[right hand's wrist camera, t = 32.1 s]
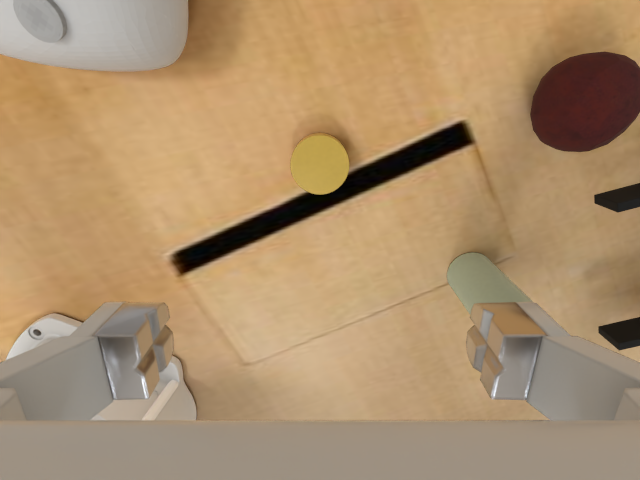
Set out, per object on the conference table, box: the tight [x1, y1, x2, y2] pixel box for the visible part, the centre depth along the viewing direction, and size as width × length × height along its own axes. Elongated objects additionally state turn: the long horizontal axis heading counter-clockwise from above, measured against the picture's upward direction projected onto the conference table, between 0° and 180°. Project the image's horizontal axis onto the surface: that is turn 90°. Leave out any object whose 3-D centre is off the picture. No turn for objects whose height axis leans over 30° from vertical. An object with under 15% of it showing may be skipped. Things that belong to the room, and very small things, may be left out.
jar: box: [447, 252, 533, 314], centre depth 32 cm, size 5×5×16 cm
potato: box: [530, 52, 640, 152], centre depth 30 cm, size 7×8×7 cm
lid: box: [290, 133, 349, 194], centre depth 35 cm, size 5×5×2 cm
